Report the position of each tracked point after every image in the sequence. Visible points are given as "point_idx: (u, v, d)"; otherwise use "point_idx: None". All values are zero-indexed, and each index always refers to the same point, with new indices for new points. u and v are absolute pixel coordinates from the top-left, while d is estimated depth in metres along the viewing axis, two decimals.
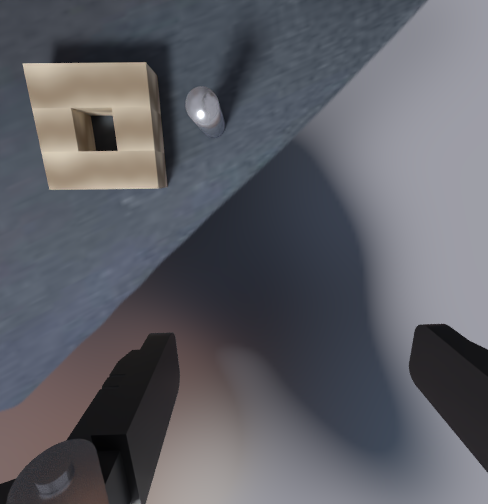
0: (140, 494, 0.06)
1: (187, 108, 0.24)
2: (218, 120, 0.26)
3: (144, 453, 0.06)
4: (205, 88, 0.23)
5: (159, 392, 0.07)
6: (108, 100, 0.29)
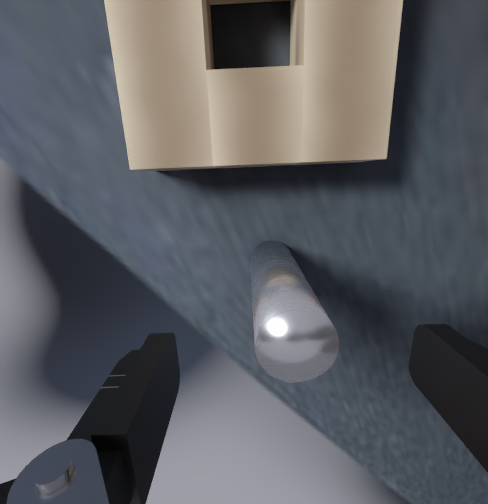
0: (140, 494, 0.06)
1: (290, 314, 0.09)
2: None
3: (144, 453, 0.06)
4: (334, 355, 0.09)
5: (159, 392, 0.07)
6: (318, 58, 0.12)
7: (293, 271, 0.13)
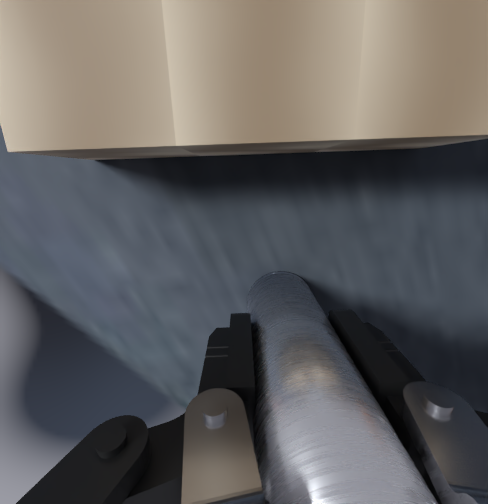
0: None
1: None
2: None
3: None
4: None
5: None
6: None
7: (338, 365, 0.06)
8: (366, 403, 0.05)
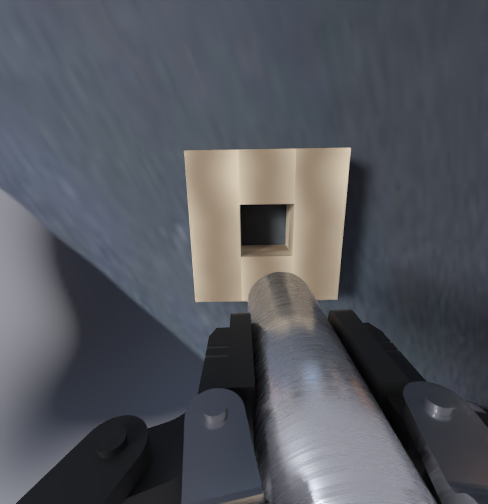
0: None
1: None
2: None
3: None
4: None
5: None
6: (300, 253, 0.23)
7: (338, 365, 0.06)
8: (366, 404, 0.05)
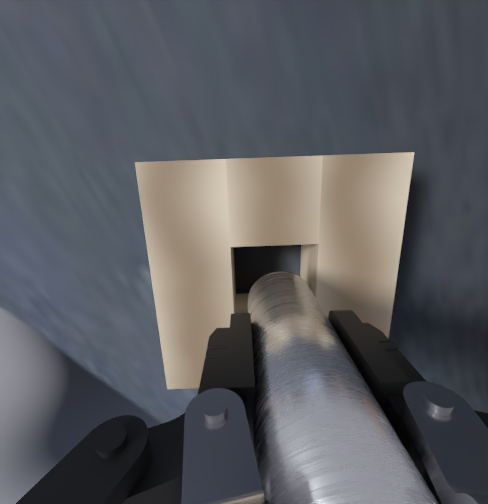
0: None
1: None
2: None
3: None
4: None
5: None
6: (327, 317, 0.15)
7: (339, 364, 0.06)
8: (366, 403, 0.05)
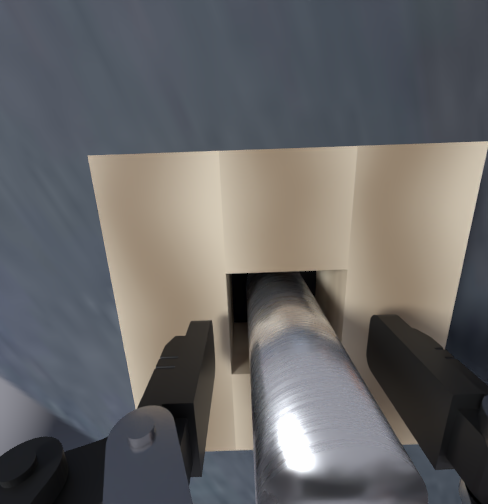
0: (200, 460, 0.06)
1: (332, 455, 0.04)
2: None
3: (201, 424, 0.06)
4: None
5: (206, 372, 0.08)
6: (356, 365, 0.11)
7: (315, 320, 0.08)
8: (332, 342, 0.07)
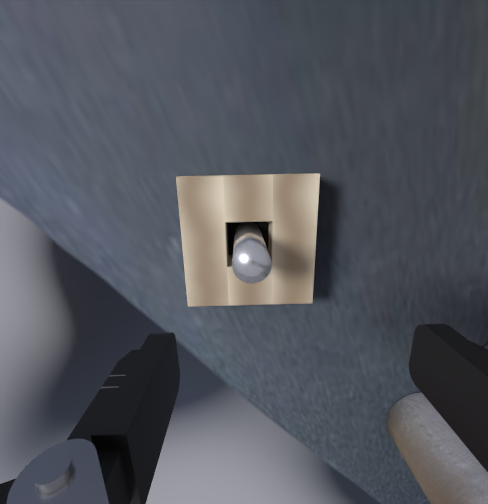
0: (140, 494, 0.06)
1: (248, 248, 0.20)
2: None
3: (144, 453, 0.06)
4: (269, 269, 0.20)
5: (159, 392, 0.07)
6: (279, 263, 0.26)
7: (255, 235, 0.23)
8: (259, 238, 0.22)
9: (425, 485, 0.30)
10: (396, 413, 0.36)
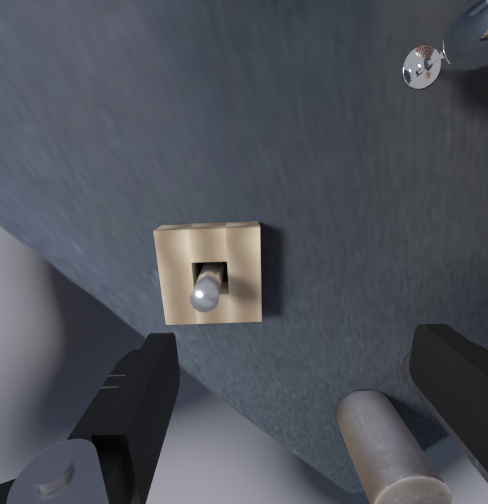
0: (140, 494, 0.06)
1: (200, 288, 0.28)
2: None
3: (144, 453, 0.06)
4: (216, 302, 0.28)
5: (159, 392, 0.07)
6: (234, 292, 0.35)
7: (212, 274, 0.32)
8: (213, 277, 0.31)
9: (355, 463, 0.38)
10: (341, 408, 0.44)
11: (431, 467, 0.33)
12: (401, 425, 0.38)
